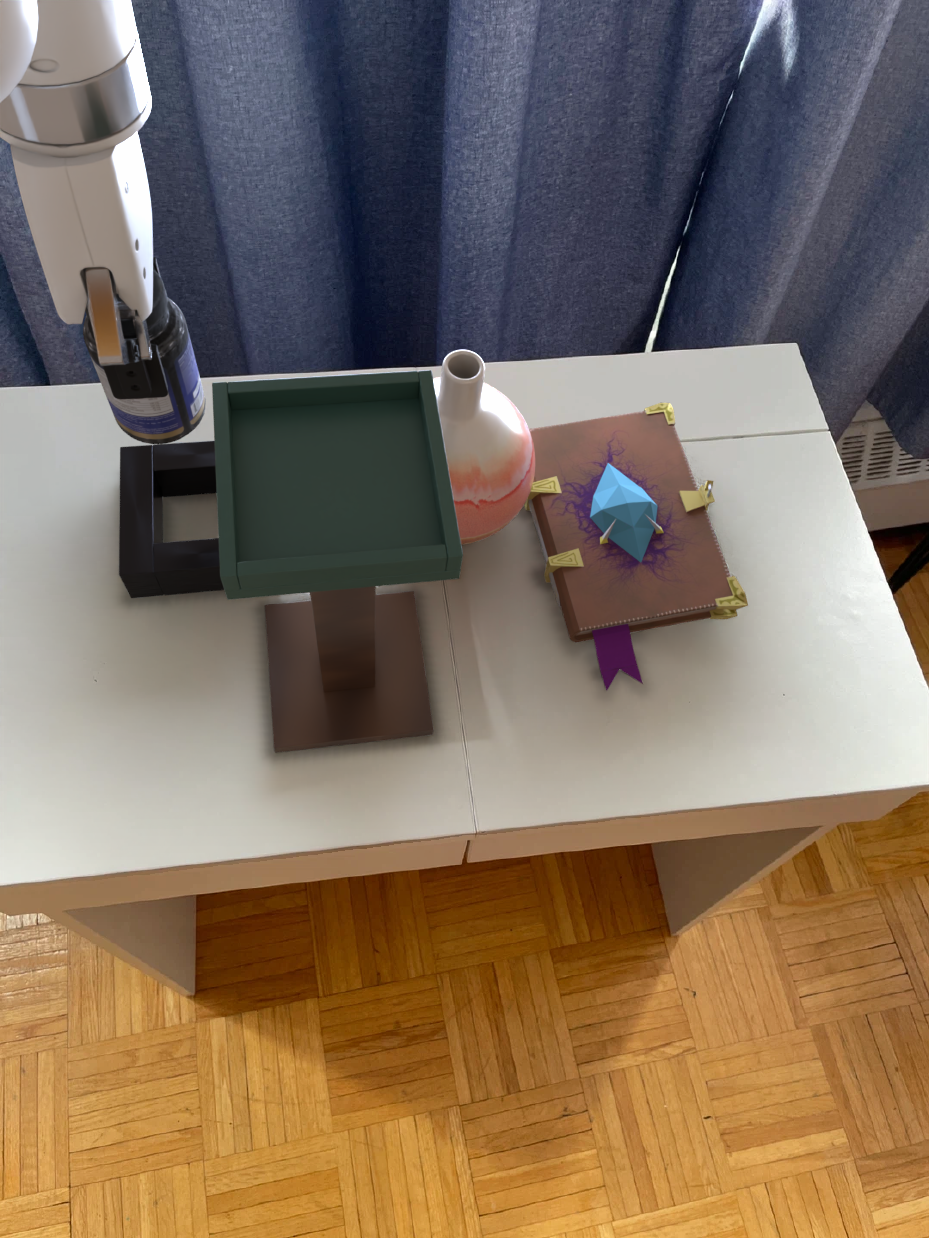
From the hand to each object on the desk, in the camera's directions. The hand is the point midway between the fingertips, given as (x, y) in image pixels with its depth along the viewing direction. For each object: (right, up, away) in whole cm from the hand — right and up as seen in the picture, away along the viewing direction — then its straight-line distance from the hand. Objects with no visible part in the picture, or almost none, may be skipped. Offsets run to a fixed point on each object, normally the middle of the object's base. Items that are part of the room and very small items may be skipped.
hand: (141, 349), depth 58 cm
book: (+35, -11, +23) cm, 43 cm away
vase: (+19, -7, +23) cm, 31 cm away
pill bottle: (-1, -3, +6) cm, 6 cm away
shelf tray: (+13, -10, -7) cm, 18 cm away
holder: (-2, -9, +20) cm, 22 cm away
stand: (+11, -21, +16) cm, 28 cm away
